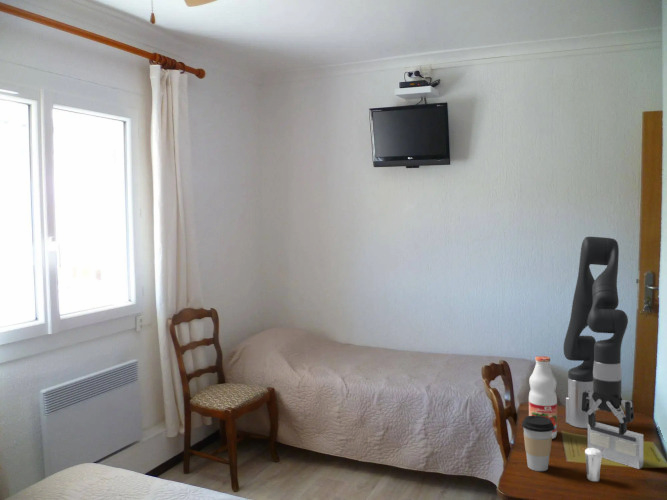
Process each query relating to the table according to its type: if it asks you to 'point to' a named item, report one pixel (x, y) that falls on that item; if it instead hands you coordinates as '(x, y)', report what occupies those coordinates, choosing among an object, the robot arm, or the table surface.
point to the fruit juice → (543, 392)
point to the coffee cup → (537, 441)
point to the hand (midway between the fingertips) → (606, 430)
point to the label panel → (617, 444)
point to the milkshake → (593, 463)
